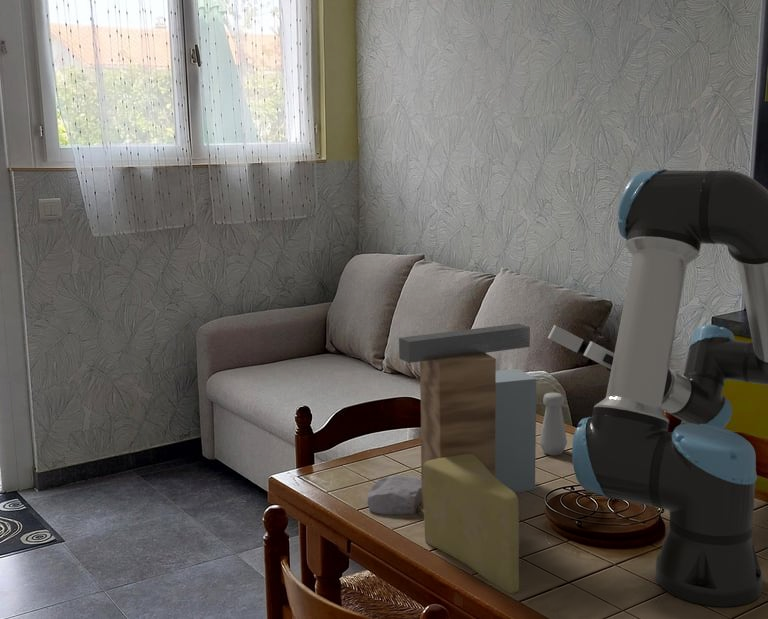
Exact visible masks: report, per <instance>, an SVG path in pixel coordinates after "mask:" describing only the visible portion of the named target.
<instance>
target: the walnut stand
mask: <svg viewBox="0 0 768 619" xmlns="http://www.w3.org/2000/svg"><path fill="white" fill-rule="evenodd" d="M496 363H497V359H496V358H495V357H494V356H491V355H489V354H488V353H480V354H473V355H465V356H458V357H450V358H443V359H435V360H428V361H420V362H419V364H420V365H419V368H420V370H419V371H420V372H419V373H420V377H419V378H420V380H419V382H420V390H419V392H420V460H421V461H420V462H421V464H420V466H421V472H420V474H421V475H420V476H421V478H420V479H421V481H422V500H421V505H419V506H418V509H417V512H418V513H419V515H421V517H422V518H423V519H424V472H423V466H424V463H425V462H427V461H429V460H433V459H438V458H444V457H450V456H456V455H462V454H473V455H475V456H476V457H477V458H478V459H479V460H480V461H481V463H482V464H483V465H484V466H485V467H486V468H487V469H488V470H489V472H490V473H491V474H492V475H493V476H495V409H496V371H497V368H496V367H497V364H496Z"/></svg>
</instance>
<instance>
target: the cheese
mask: <svg viewBox="0 0 768 619" xmlns="http://www.w3.org/2000/svg"><path fill="white" fill-rule="evenodd" d="M423 472H424V518H423V519H424V520H423V522H424V523H423V524H424V541H425V543H427V544H429V546H431V547H433V548H436V549H437V550H439V551H442V552H443V553H445V554H447V555H449V556H450V557H452V558H454V559H456V560H457V561H460V562H461V563H463V564H464V565H466V566H468V567H469V568H471V570H474V571H475V572H476V573H477V574H479V576H482V577H483V578H484V579H485V580H487V581H489V582H490V583H492V584H494V585H495V586H497V587H499V589H502V590H503V591H505V592H506V593H509V594H516V593H518V592H519V591H520V569H519V568H520V566H519V565H520V562H519V561H520V560H519V559H520V521H519V520H520V518H519V499H518V496H517V494H516V493H514V492H513V491H512V490H511V489H510V488H508V487H507V486H506V485H504V484H503V483H502V482H500V481H499V480H498V479H497V478H496V477H495V476H493V475H492V474H491V473H490V472H489V470H488V469H487V468H486V467H485V466H484V465H483V464H482V463H481V461H480V460H479V459H478V458H477V457H476V456H475V455H473V454H462V455H456V456H450V457H444V458H438V459H433V460H429V461H427V462H425V463H424V466H423Z"/></svg>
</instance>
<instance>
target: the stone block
mask: <svg viewBox="0 0 768 619" xmlns="http://www.w3.org/2000/svg"><path fill="white" fill-rule="evenodd" d="M366 499H367V506H368V508H369V510H370V512H372V513H376V514H381V515H382V514H383V515H394V514H395V515H411V516H412V515H413V516H414V515H415V514H416V513H417V512H418V506H420V504H421V503H422V481H421V478H418V477H416V476H415V477H414V476H410V475H393V476H386V477H384V478H383V477H382V478H380V479H378V480H376V482H375V483H374V484H373V485H372V487H371V488H370V491H369V492H368V493H367V498H366Z"/></svg>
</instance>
